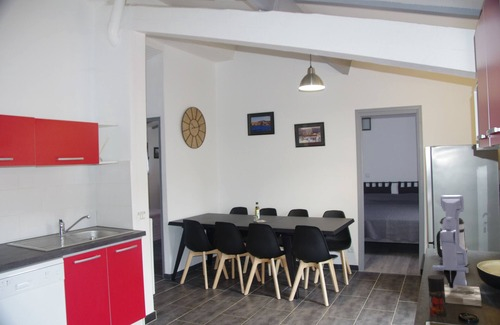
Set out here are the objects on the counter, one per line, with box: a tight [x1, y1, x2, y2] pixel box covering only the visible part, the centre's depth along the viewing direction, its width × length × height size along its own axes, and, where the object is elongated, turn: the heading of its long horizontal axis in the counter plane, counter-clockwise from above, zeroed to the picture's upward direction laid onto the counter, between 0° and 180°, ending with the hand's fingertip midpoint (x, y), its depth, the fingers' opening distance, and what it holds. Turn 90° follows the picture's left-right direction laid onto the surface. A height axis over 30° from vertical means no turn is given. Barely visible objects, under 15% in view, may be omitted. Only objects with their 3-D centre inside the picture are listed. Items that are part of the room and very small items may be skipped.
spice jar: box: [427, 274, 447, 318], centre depth 162 cm, size 6×6×15 cm
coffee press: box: [435, 216, 470, 266], centre depth 230 cm, size 17×16×30 cm
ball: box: [450, 285, 458, 292], centre depth 179 cm, size 3×3×3 cm
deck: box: [444, 284, 482, 307], centre depth 178 cm, size 18×17×2 cm
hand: (451, 287), depth 179 cm, fingers closed, pressing on ball
